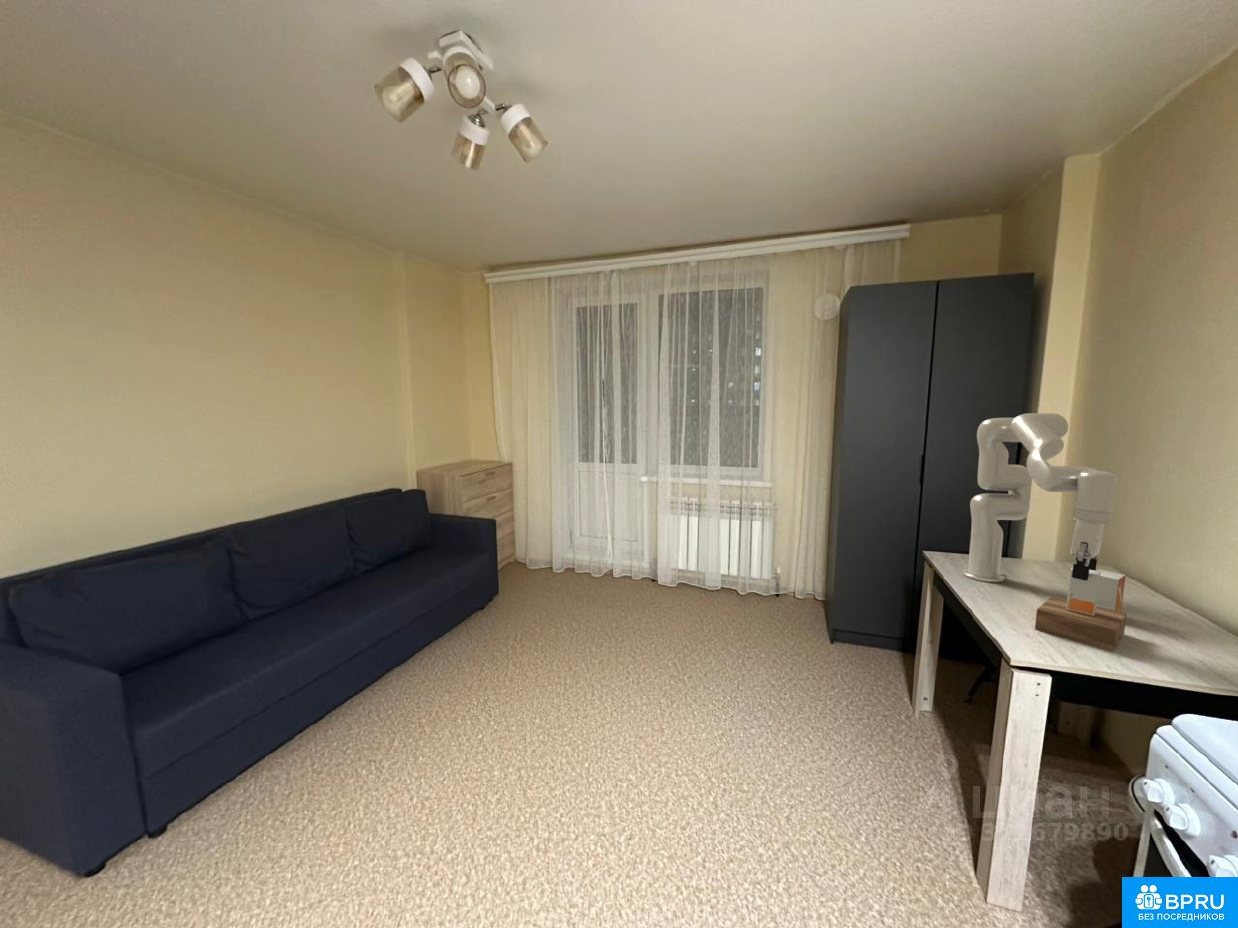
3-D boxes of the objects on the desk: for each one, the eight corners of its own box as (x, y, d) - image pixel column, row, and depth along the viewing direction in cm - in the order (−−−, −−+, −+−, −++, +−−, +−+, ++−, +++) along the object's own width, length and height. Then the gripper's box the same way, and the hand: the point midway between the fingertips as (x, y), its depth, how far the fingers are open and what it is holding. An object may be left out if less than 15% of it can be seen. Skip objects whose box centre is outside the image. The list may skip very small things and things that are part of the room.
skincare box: (1065, 610, 138) (1070, 569, 137) (1066, 605, 141) (1071, 566, 140) (1095, 616, 134) (1100, 574, 133) (1096, 612, 137) (1100, 571, 136)
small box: (1114, 621, 144) (1119, 579, 143) (1085, 614, 150) (1089, 573, 148) (1121, 615, 149) (1126, 574, 147) (1093, 608, 154) (1097, 568, 153)
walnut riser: (1049, 614, 149) (1051, 596, 149) (1123, 634, 137) (1126, 613, 136) (1034, 629, 140) (1036, 609, 139) (1113, 651, 127) (1115, 629, 126)
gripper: (1080, 508, 143) (1073, 564, 145) (1065, 517, 132) (1058, 578, 135) (1116, 513, 137) (1108, 571, 139) (1104, 523, 126) (1095, 586, 129)
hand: (1083, 574), depth 137 cm, fingers open, 9 cm apart
